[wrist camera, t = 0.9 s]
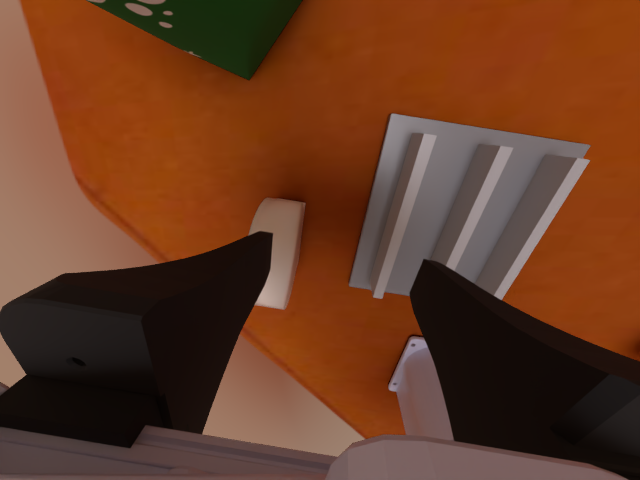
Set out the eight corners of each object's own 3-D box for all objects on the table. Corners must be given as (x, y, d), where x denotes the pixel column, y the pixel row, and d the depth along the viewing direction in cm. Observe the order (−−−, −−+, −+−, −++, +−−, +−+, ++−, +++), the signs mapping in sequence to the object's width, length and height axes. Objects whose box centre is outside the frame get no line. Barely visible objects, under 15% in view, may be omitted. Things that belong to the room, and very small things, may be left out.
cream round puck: (297, 270, 23) (279, 334, 15) (272, 266, 23) (242, 329, 15) (307, 191, 19) (288, 227, 12) (277, 186, 19) (241, 220, 12)
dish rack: (486, 304, 23) (505, 327, 20) (348, 282, 23) (350, 302, 20) (582, 144, 16) (631, 147, 14) (389, 113, 16) (400, 110, 14)
